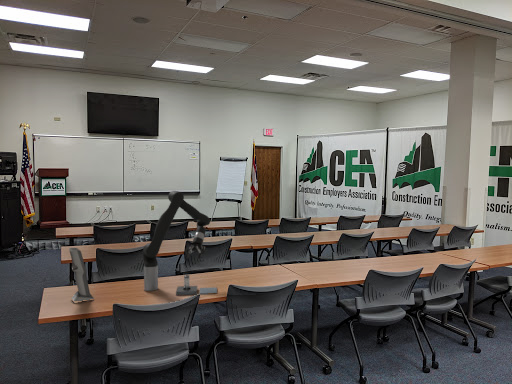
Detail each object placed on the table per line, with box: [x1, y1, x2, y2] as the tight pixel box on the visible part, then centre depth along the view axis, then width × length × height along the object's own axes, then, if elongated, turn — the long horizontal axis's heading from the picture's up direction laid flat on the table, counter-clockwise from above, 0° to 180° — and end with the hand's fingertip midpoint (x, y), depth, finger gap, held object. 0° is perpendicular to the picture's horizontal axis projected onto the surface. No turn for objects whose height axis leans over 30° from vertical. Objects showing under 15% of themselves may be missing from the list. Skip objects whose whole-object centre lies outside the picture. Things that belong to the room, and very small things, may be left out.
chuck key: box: [183, 274, 190, 290], centre depth 267 cm, size 4×4×12 cm
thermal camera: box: [68, 247, 95, 301], centre depth 251 cm, size 12×13×35 cm
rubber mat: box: [199, 286, 218, 295], centre depth 269 cm, size 12×12×1 cm
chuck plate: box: [175, 285, 198, 296], centre depth 267 cm, size 14×12×2 cm
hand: (193, 258), depth 277 cm, fingers open, 8 cm apart
